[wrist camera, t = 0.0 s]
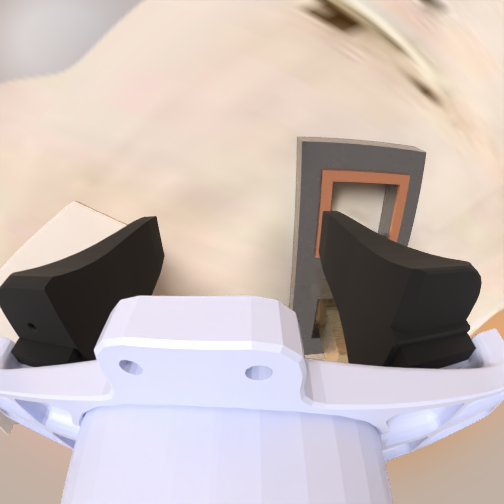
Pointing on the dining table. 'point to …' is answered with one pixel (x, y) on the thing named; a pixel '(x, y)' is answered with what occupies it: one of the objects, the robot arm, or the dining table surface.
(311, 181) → the socket rail
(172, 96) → the dining table surface
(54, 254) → the milk carton
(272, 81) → the dining table surface
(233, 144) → the dining table surface
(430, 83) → the dining table surface
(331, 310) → the brass peg
